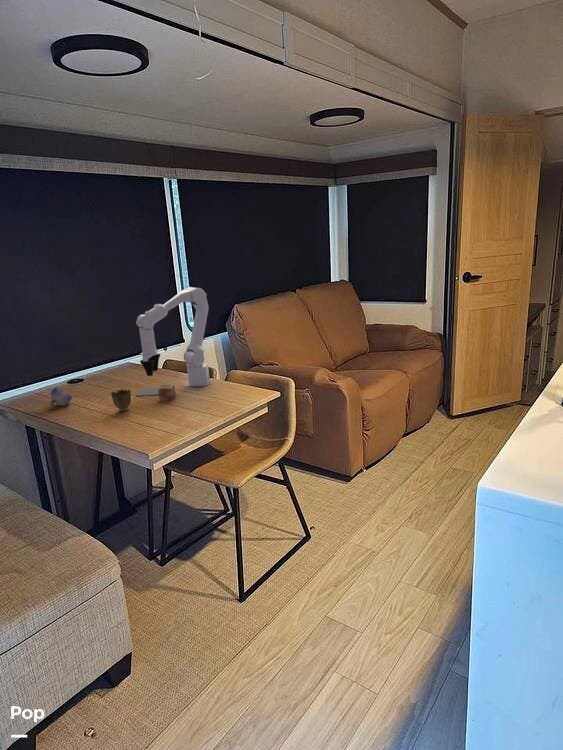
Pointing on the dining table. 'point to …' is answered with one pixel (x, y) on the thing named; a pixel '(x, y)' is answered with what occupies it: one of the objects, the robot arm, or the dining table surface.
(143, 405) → the dining table surface
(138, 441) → the dining table surface
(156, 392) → the mat
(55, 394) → the flower
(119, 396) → the cup
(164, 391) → the walnut cube
